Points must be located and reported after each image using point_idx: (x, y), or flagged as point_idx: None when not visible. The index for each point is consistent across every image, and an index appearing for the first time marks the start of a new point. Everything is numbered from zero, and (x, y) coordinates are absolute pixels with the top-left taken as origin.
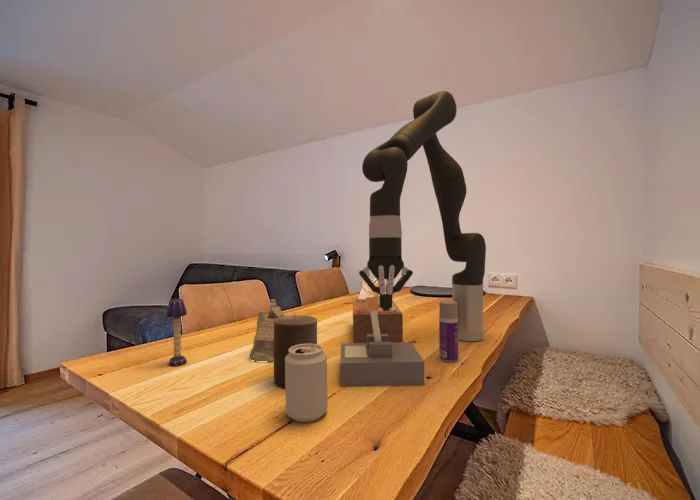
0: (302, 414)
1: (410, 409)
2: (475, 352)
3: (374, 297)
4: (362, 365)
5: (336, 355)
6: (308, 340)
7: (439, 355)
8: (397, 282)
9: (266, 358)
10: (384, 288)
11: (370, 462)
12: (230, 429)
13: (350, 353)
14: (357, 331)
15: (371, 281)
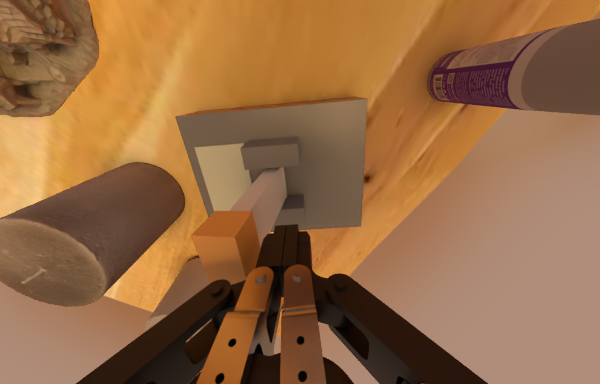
0: None
1: (319, 261)
2: (561, 6)
3: (234, 260)
4: None
5: (170, 55)
6: (132, 264)
7: (433, 73)
8: (354, 323)
9: (28, 116)
10: (274, 328)
11: (279, 318)
12: (151, 292)
13: (220, 195)
14: None
15: (195, 374)
